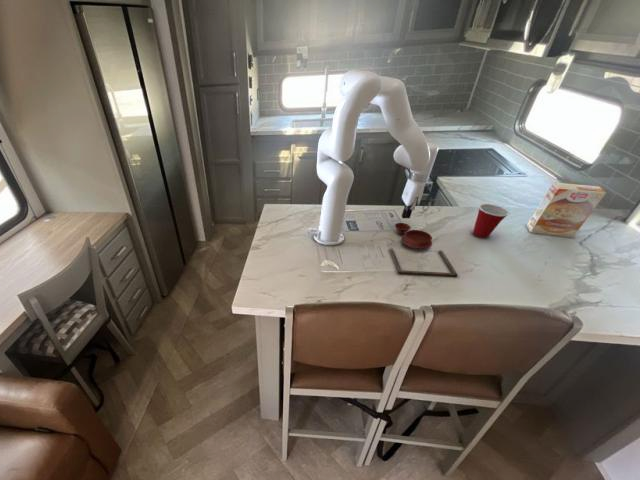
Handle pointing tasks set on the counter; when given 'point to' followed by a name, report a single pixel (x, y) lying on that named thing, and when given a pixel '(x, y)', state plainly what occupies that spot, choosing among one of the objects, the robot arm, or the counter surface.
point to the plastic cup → (488, 219)
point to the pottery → (414, 237)
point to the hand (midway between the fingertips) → (405, 217)
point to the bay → (452, 274)
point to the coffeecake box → (565, 209)
